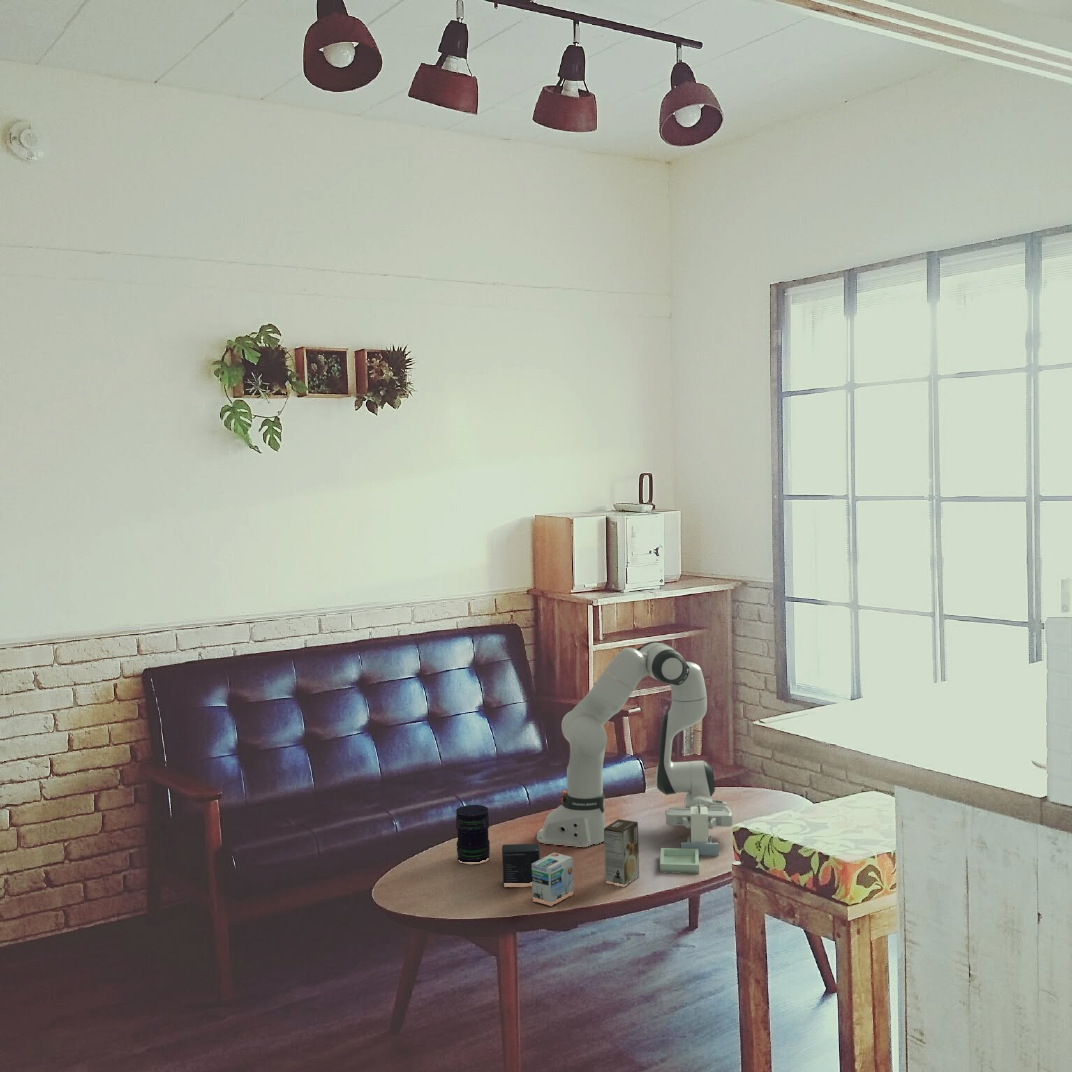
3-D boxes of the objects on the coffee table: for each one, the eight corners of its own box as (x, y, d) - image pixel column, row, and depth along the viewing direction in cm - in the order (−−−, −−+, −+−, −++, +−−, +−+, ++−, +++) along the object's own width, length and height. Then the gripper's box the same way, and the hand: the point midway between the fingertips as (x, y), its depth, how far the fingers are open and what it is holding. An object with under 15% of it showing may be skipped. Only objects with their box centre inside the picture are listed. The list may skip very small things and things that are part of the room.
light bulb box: (551, 908, 298) (550, 868, 297) (531, 902, 302) (530, 863, 301) (574, 894, 306) (573, 856, 306) (554, 889, 311) (553, 851, 310)
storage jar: (455, 865, 331) (453, 815, 329) (458, 853, 340) (457, 805, 339) (489, 864, 330) (487, 815, 329) (491, 852, 340) (490, 804, 339)
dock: (681, 854, 334) (681, 843, 334) (681, 844, 343) (681, 833, 343) (718, 855, 333) (718, 844, 333) (717, 845, 341) (717, 834, 341)
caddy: (691, 853, 336) (690, 808, 335) (691, 845, 342) (690, 800, 341) (708, 853, 335) (707, 808, 334) (707, 845, 342) (707, 801, 341)
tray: (660, 872, 321) (660, 864, 321) (660, 856, 334) (660, 848, 334) (699, 873, 320) (699, 864, 319) (698, 857, 332) (698, 848, 332)
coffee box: (619, 873, 321) (618, 818, 320) (639, 877, 318) (638, 821, 317) (604, 884, 314) (603, 827, 312) (625, 888, 310) (624, 831, 309)
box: (540, 878, 319) (539, 842, 318) (540, 887, 312) (540, 851, 311) (503, 879, 319) (502, 843, 318) (502, 888, 312) (501, 852, 311)
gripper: (664, 800, 352) (664, 815, 338) (731, 801, 349) (733, 816, 336) (665, 820, 353) (664, 835, 339) (731, 821, 350) (733, 836, 336)
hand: (699, 825), depth 337 cm, fingers closed on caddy, 5 cm apart
